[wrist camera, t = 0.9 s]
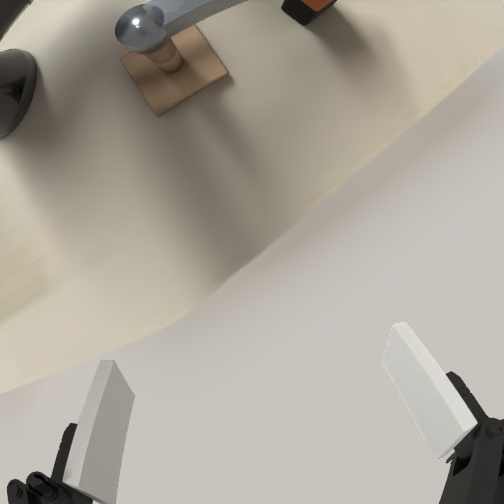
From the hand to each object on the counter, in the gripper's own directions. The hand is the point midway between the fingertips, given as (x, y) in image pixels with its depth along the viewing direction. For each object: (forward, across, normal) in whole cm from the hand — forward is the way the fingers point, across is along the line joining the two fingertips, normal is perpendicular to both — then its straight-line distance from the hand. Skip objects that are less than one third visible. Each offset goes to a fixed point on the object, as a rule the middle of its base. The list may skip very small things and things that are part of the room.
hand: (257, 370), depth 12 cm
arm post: (+27, -6, +20) cm, 34 cm away
